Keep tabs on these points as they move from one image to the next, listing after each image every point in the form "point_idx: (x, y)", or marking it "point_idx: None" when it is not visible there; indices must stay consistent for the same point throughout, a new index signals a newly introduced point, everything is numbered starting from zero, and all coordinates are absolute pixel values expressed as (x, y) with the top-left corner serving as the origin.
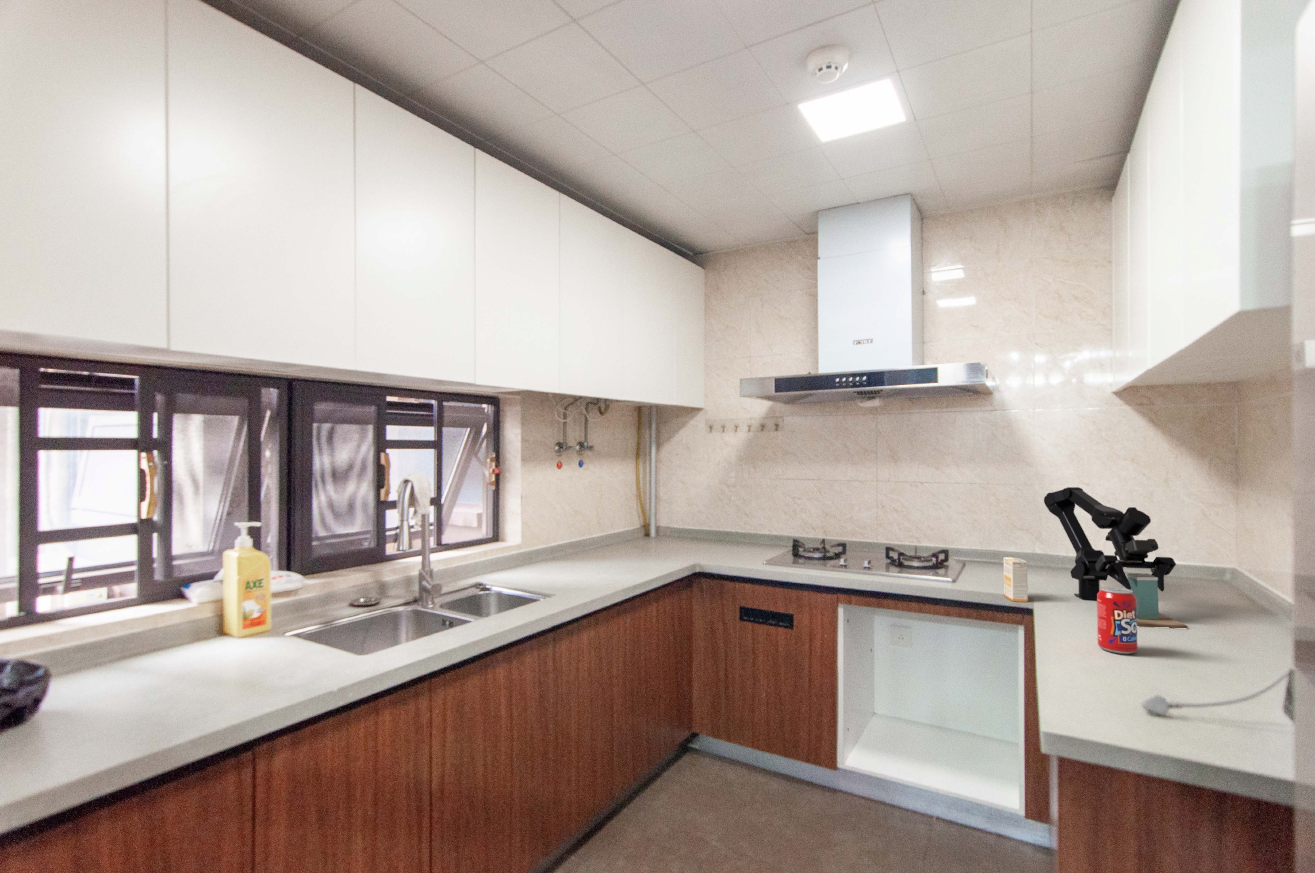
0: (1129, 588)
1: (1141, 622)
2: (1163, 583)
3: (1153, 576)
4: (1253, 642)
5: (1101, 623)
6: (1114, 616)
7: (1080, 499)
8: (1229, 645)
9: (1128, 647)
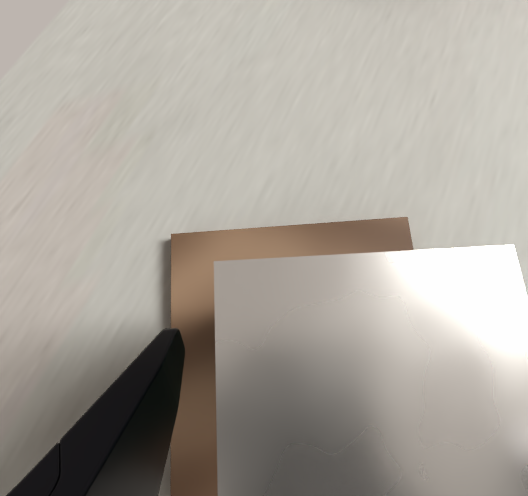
0: None
1: (350, 241)
2: (124, 377)
3: (244, 330)
4: (48, 108)
5: None
6: None
7: None
8: (157, 53)
9: None
